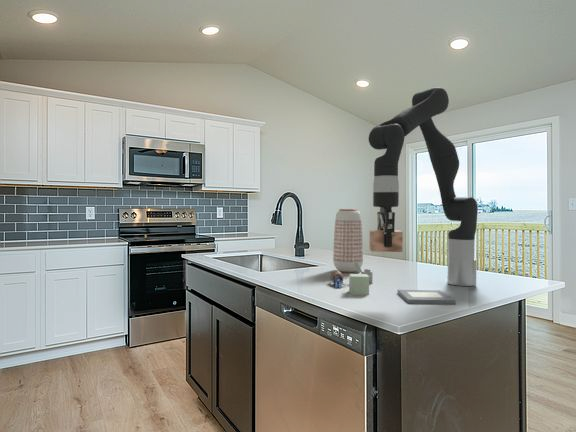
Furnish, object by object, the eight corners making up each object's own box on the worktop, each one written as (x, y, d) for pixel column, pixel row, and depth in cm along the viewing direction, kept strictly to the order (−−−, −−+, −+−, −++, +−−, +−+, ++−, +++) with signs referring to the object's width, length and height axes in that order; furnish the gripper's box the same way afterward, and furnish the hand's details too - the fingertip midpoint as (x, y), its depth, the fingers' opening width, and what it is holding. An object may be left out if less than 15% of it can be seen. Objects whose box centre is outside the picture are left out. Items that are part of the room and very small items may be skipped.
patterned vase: (343, 274, 167) (344, 209, 166) (327, 270, 179) (328, 209, 178) (368, 272, 172) (369, 209, 172) (351, 268, 184) (352, 209, 184)
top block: (366, 291, 134) (366, 274, 134) (368, 294, 129) (369, 276, 129) (349, 291, 134) (349, 273, 134) (350, 294, 129) (351, 276, 129)
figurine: (346, 293, 139) (343, 281, 151) (346, 279, 138) (343, 269, 150) (330, 293, 139) (329, 281, 151) (330, 279, 138) (329, 268, 150)
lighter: (372, 282, 149) (372, 262, 149) (372, 283, 148) (372, 262, 148) (353, 281, 151) (354, 261, 151) (353, 282, 150) (353, 261, 150)
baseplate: (439, 293, 130) (439, 290, 130) (455, 304, 116) (455, 300, 116) (397, 293, 131) (397, 289, 131) (408, 303, 117) (408, 299, 117)
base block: (398, 249, 121) (399, 230, 121) (402, 251, 114) (402, 231, 114) (369, 249, 122) (369, 230, 122) (371, 251, 116) (371, 231, 115)
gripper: (404, 190, 110) (403, 248, 111) (392, 192, 125) (392, 243, 125) (377, 190, 111) (377, 248, 111) (369, 192, 125) (369, 243, 125)
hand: (385, 245), depth 118 cm, fingers closed on base block, 6 cm apart
